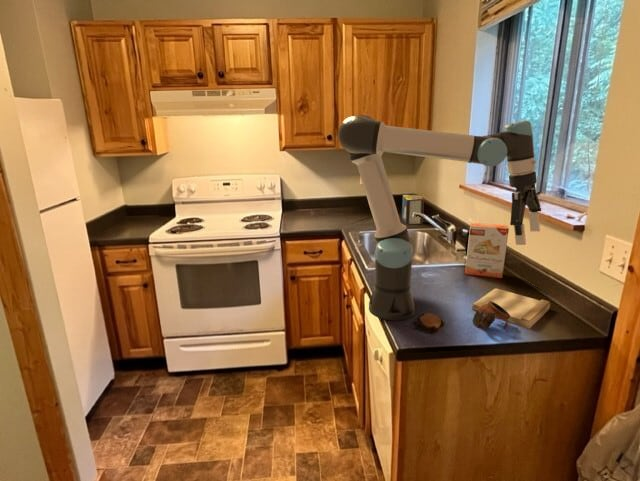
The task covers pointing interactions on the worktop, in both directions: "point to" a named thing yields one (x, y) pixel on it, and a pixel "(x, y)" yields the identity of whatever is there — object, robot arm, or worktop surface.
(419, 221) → the protein box
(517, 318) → the folded beige towel
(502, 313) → the pottery mug
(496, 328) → the worktop surface
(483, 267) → the cracker box
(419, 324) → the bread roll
